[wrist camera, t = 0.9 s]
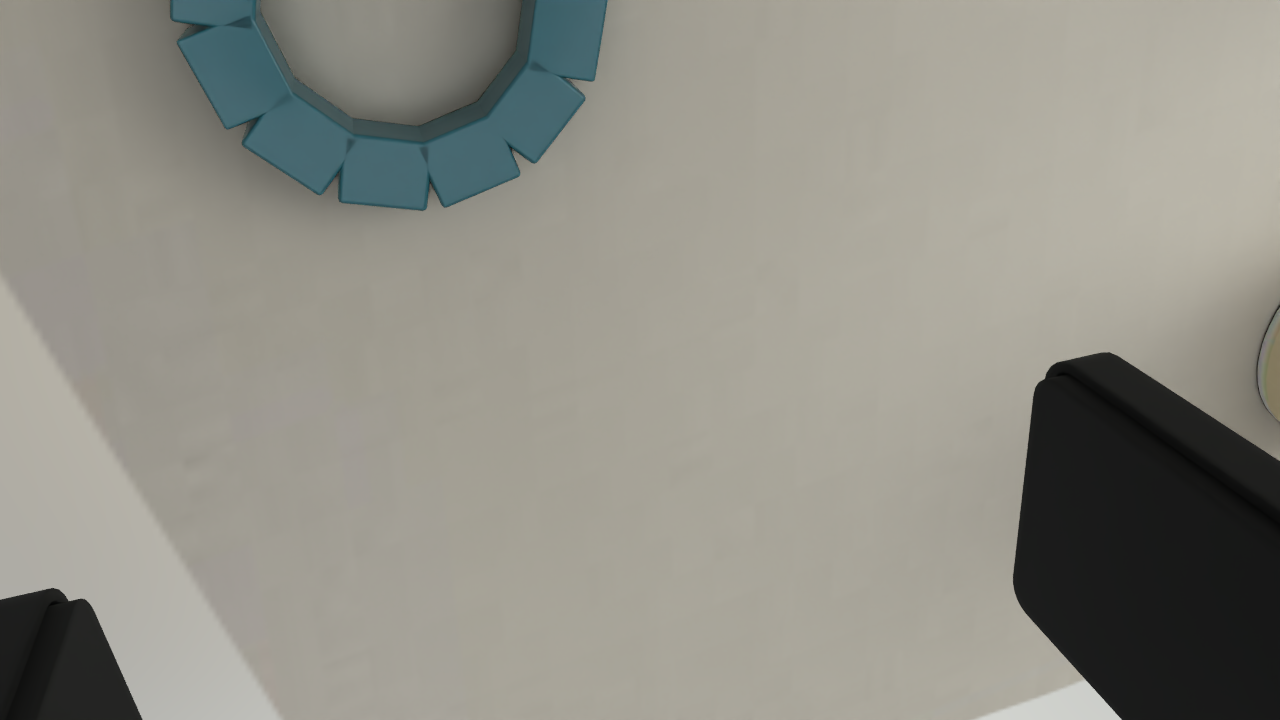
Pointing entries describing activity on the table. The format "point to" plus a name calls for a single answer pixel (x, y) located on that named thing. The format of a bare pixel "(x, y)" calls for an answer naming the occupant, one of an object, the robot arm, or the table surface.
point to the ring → (387, 152)
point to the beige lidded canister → (1270, 368)
